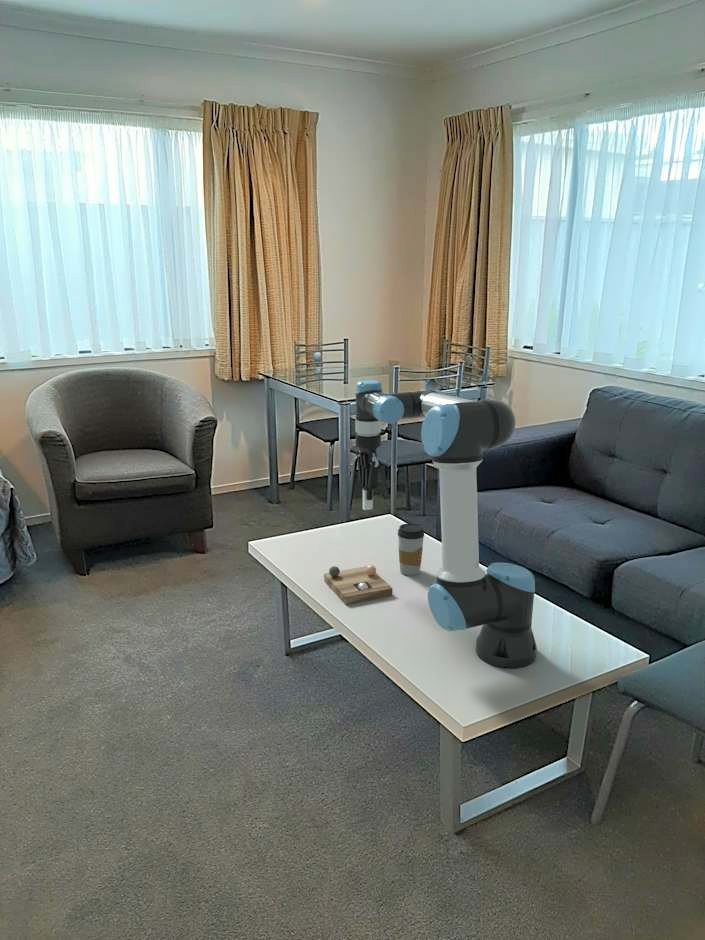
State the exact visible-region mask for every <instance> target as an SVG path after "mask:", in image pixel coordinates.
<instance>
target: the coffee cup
mask: <svg viewBox="0 0 705 940" xmlns="http://www.w3.org/2000/svg"><path fill="white" fill-rule="evenodd" d="M397 536H398V537H397V538H398V561H399V571H400V574H402V575H404V576H407V577H410V576H411V577H412V576H413V577H414V576H417V575H418V574H420V573H421V567H422V565H421V564H422V556H423V549H424V548H423V545H424V536H425V530H424V527H423V526H422V525H421V524H418V523H413V522H411V523H410V522H407V523H404V524H400V526H399V529H397Z"/></svg>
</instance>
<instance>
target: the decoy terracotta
mask: <svg viewBox="0 0 705 940" xmlns="http://www.w3.org/2000/svg"><path fill="white" fill-rule="evenodd" d="M366 566H367V568H366V573H367V574H368V575H370V576H372V575H374V574H375V573H377V568H376V566H374V565H372V564H370V565H366Z"/></svg>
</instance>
